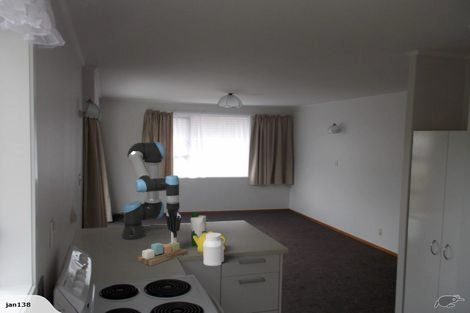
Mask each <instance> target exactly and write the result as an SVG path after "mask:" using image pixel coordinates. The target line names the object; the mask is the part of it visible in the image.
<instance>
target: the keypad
mask: <svg viewBox="0 0 470 313" xmlns="http://www.w3.org/2000/svg"><path fill="white" fill-rule="evenodd" d="M186 253H187V254H188V251H187V249H185V248H181V247H180V249H178V250H175V251H172V252H169V253H166V254H165V253H161V254H158V255H155V254H154V257H153V258H150V259H145V258H142V253H141V254H138V255H135V261H136V262H137V263H142V264H143V265H146V266H149V267H153V266H156V265H159V264H162V263H164V262H168V261H171V260H173V258H174V259H176V258H175V257H177V256H180V255H183V254H186ZM187 254H186V255H187ZM183 256H184V255H183ZM180 257H181V256H180ZM177 258H178V257H177Z"/></svg>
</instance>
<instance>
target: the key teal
mask: <svg viewBox="0 0 470 313" xmlns="http://www.w3.org/2000/svg"><path fill="white" fill-rule="evenodd" d="M163 245H164V243H160V242H155V243H152V244H150V249H151V250H154V254H155V255H158V254H161V253H163Z"/></svg>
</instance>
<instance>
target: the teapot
mask: <svg viewBox="0 0 470 313" xmlns="http://www.w3.org/2000/svg"><path fill="white" fill-rule="evenodd" d="M208 233H214V232H213V231H207V232H206V233H204V234H202V235H201V236H199V238H198V237H197V236H193V238H194V240H195V242H196V244H197V245H198V247H196V248H197V253H198V254H199V253H203V243H204V241H205V239H206V234H208ZM220 234H221V239H222V241H223V242H224V245H225V244H226V241H227V240H226V238H225V236H223V234H222V233H220ZM225 250H226V247H225V246H224V251H225Z"/></svg>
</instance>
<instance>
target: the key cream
mask: <svg viewBox="0 0 470 313" xmlns="http://www.w3.org/2000/svg"><path fill="white" fill-rule="evenodd" d="M141 254H142V258H145V259H150V258H153V257H154V250H151V248H147V249H144V250H142V251H141Z"/></svg>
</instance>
